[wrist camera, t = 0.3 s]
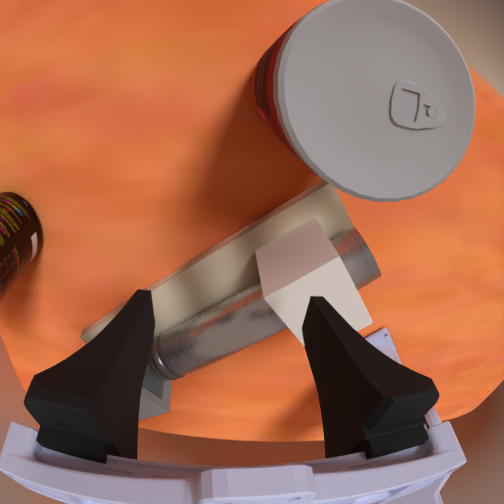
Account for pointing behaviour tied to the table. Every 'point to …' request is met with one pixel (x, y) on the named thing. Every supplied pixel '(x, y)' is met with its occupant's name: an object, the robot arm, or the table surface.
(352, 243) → the tube
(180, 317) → the board
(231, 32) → the table surface
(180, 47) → the table surface
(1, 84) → the table surface
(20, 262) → the supplement container
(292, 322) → the sleeve
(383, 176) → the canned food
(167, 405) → the socket
